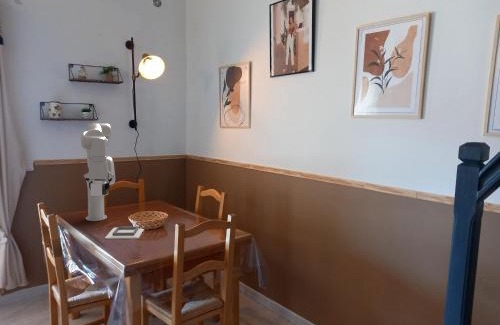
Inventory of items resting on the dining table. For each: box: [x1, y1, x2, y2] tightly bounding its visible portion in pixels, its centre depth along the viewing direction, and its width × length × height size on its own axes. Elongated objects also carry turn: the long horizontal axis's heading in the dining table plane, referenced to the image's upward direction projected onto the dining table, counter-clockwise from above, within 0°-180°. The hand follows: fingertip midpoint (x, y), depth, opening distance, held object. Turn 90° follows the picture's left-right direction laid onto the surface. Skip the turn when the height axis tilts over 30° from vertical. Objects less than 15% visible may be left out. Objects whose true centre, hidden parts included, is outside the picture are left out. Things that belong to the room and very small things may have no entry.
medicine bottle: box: [91, 179, 110, 197], centre depth 196 cm, size 7×7×12 cm
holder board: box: [104, 226, 145, 240], centre depth 197 cm, size 18×18×2 cm
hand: (99, 189), depth 196 cm, fingers closed on medicine bottle, 8 cm apart
